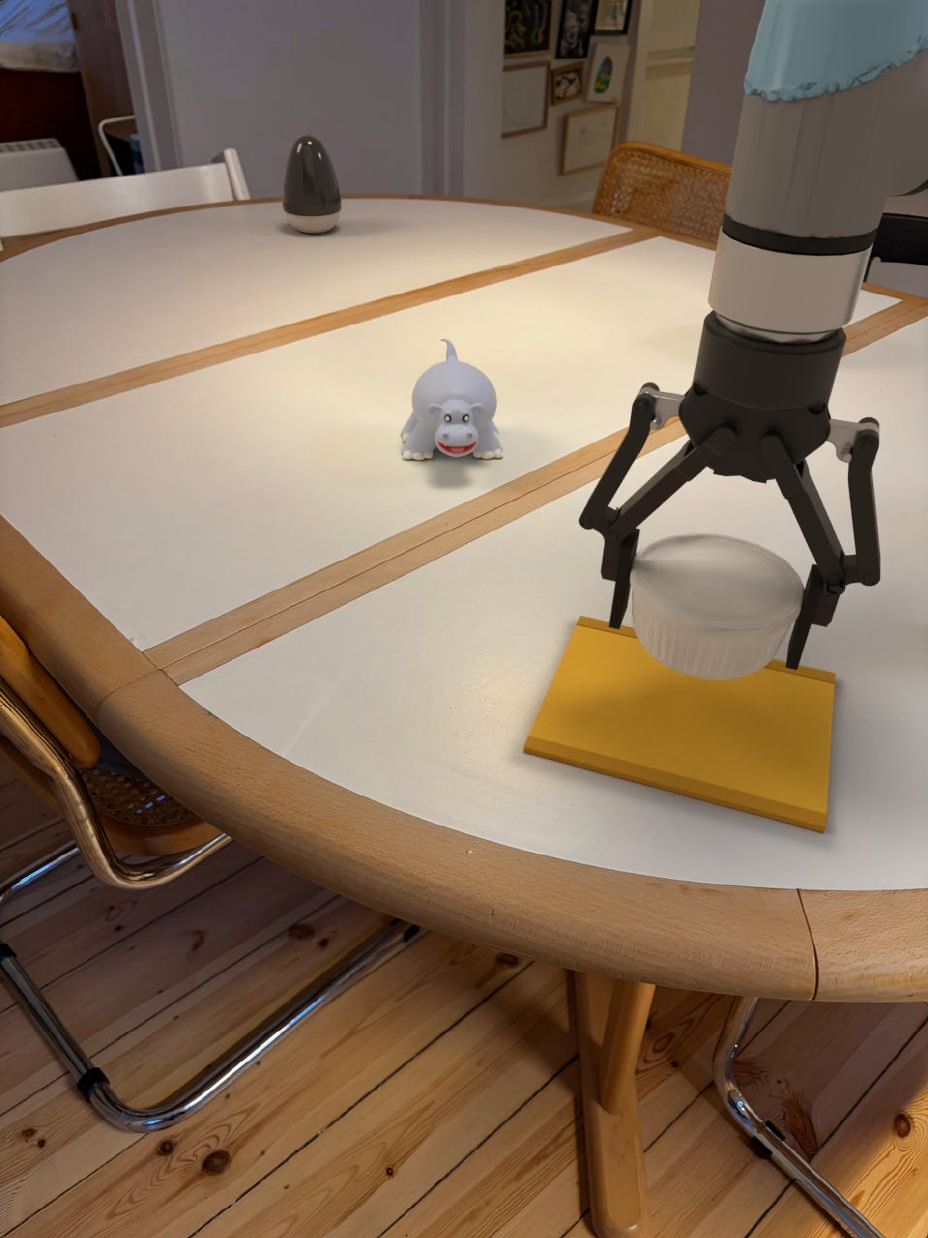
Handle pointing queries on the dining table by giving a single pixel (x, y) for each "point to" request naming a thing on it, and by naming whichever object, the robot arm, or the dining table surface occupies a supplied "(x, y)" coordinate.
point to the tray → (691, 726)
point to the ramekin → (712, 603)
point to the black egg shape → (310, 187)
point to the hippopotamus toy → (452, 412)
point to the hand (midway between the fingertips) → (703, 636)
